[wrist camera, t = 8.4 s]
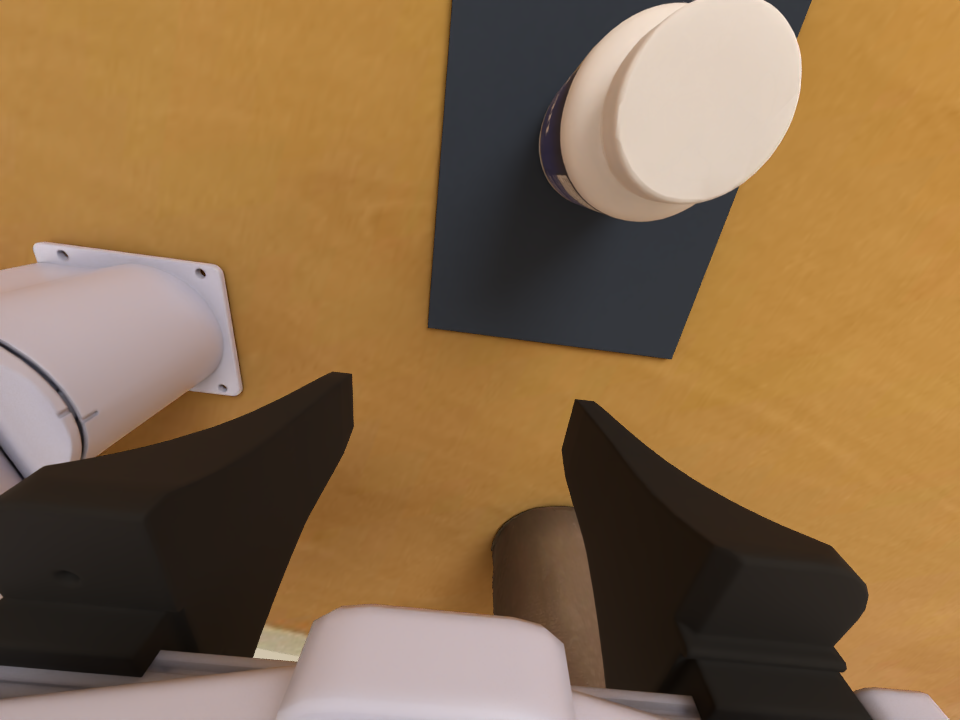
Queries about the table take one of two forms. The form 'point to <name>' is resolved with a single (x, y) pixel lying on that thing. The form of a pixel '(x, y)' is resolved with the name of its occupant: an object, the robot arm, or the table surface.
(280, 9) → the table surface
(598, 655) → the pillar candle
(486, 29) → the felt mat
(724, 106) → the pill bottle
